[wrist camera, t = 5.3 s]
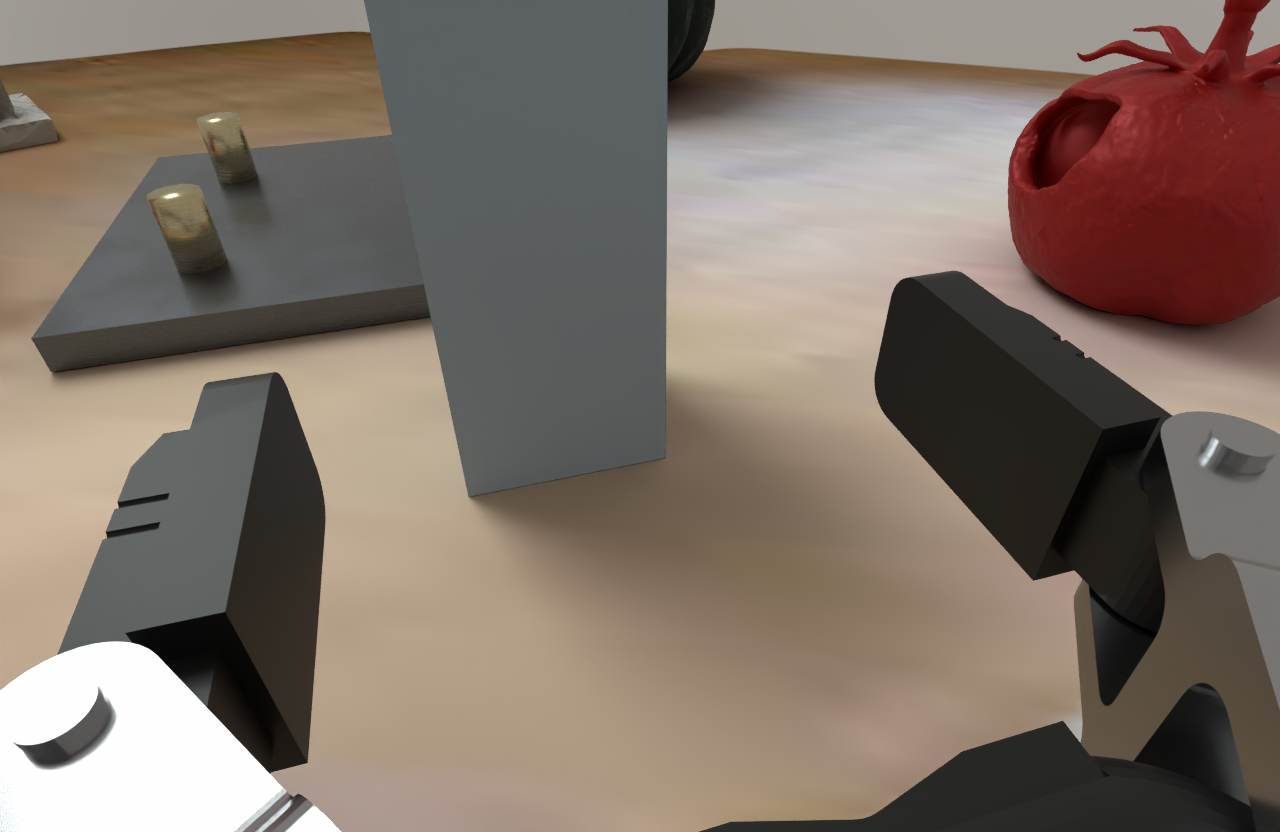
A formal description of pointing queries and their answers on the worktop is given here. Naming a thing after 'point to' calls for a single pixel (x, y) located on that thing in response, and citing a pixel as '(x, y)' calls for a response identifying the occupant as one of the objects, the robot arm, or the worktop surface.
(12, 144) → the packaged product
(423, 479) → the worktop surface
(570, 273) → the block
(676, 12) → the squash
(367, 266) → the plate
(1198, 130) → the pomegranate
